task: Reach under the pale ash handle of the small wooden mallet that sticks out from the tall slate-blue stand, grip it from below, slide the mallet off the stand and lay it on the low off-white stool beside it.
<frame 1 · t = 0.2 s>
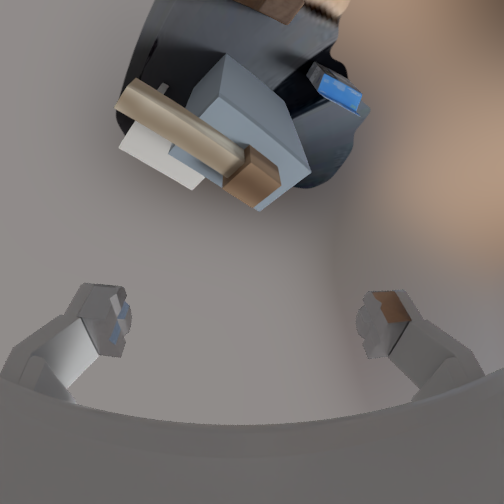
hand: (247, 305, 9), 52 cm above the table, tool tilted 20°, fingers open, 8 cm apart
label tape box: (327, 77, 48), on the table
mallet: (191, 126, 30), point 26 cm above the table, touching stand
stool: (182, 115, 53), on the table
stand: (239, 93, 50), on the table
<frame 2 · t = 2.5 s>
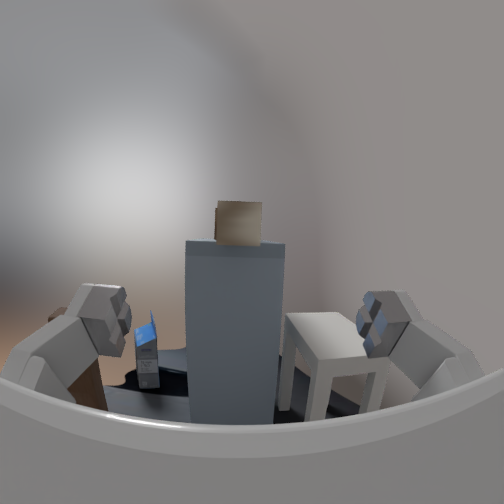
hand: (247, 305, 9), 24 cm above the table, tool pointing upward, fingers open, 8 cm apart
label tape box: (148, 378, 46), on the table
mallet: (235, 242, 28), point 26 cm above the table, touching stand
wooden block: (95, 449, 24), on the table
stool: (314, 432, 33), on the table
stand: (230, 413, 38), on the table
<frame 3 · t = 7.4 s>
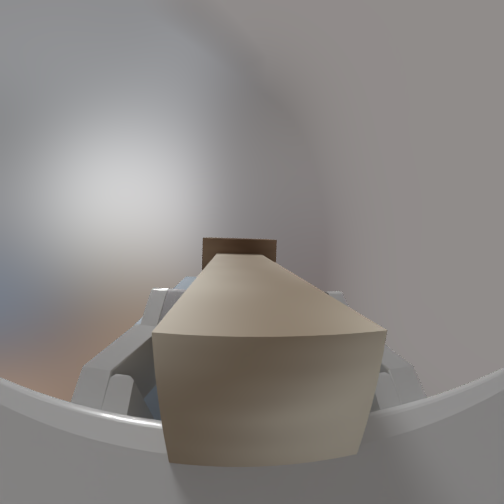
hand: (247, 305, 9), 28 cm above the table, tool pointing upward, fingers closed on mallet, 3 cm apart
mallet: (242, 330, 12), point 26 cm above the table, touching gripper, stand
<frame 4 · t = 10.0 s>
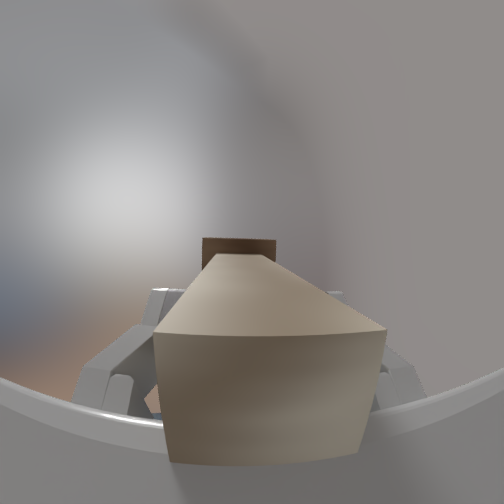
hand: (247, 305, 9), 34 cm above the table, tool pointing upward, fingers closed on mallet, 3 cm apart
mallet: (241, 329, 12), point 32 cm above the table, touching gripper
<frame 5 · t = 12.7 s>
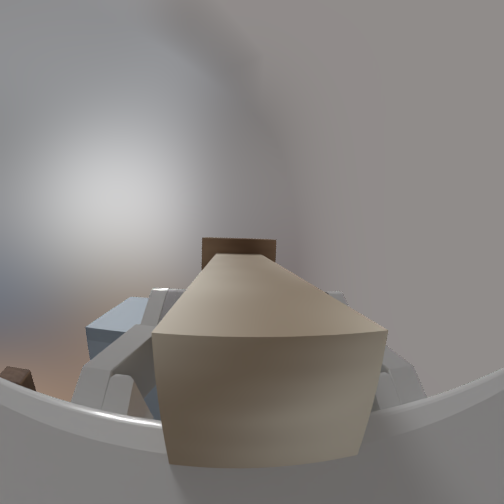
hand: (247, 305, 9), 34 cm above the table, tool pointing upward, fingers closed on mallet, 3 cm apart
mallet: (241, 330, 12), point 32 cm above the table, touching gripper
wooden block: (48, 476, 22), on the table
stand: (164, 455, 36), on the table
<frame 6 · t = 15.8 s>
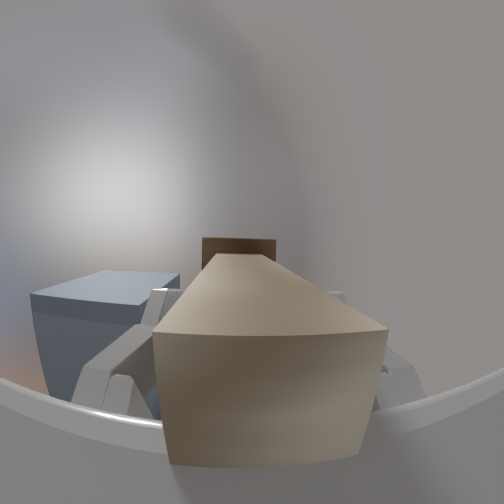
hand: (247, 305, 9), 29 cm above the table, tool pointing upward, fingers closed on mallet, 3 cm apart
mallet: (241, 329, 12), point 27 cm above the table, touching gripper
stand: (146, 470, 26), on the table
when the fingers open (19 cm above the table, at t = 18.5 s): mallet drops 1 cm, resting on stool.
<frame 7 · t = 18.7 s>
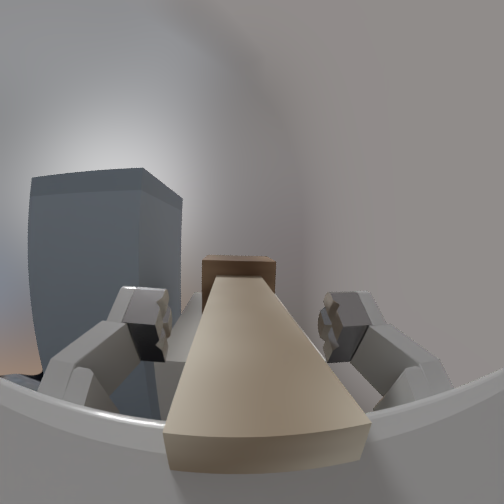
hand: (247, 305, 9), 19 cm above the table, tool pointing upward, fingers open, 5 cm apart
mallet: (241, 360, 12), point 16 cm above the table, touching stool
stool: (235, 467, 21), on the table
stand: (135, 423, 26), on the table
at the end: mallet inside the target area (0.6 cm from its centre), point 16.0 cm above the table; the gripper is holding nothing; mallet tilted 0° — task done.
